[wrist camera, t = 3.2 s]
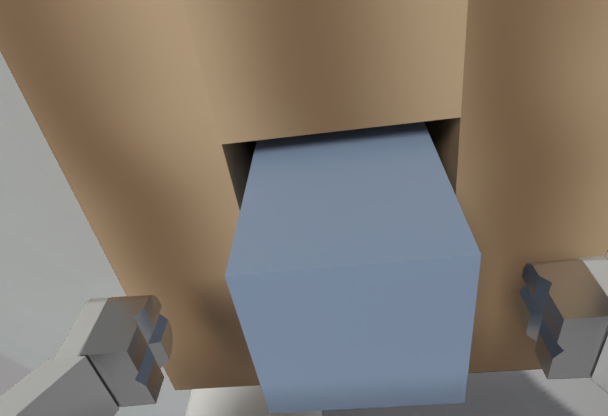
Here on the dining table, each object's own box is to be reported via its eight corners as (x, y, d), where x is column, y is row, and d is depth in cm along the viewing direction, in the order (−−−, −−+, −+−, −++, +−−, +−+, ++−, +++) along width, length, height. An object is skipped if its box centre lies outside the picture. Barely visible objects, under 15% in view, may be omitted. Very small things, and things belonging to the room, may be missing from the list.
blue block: (401, 70, 15) (480, 254, 8) (403, 183, 18) (464, 403, 10) (269, 87, 15) (224, 276, 8) (289, 195, 18) (269, 413, 11)
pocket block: (590, -138, 12) (734, -145, 8) (518, 266, 20) (569, 367, 16) (73, -53, 13) (-38, -21, 9) (202, 291, 21) (175, 390, 17)
